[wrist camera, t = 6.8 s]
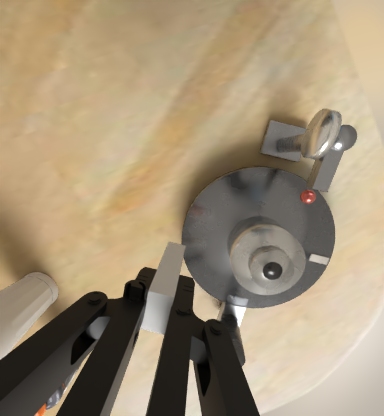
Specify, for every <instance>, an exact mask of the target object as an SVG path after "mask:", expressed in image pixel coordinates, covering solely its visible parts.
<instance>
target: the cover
mask: <svg viewBox="0 0 384 416" xmlns="http://www.w3.org/2000/svg"><path fill="white" fill-rule="evenodd" d="M227 249H228V254H229V258H230V263H231V267H232V271H233V274H234V276H235V278H236V280H237V281H238V283H239V284H240V285H241V286H242V287H244V288H245V289H246V290H248V291H250V292H252V293H255V294H260V295H274V294H278V293H281V292H284V291H286V290H288V289H289V288H291V287H292V286H293V285H295V284H296V283H297V281H298V280H299V279H300V278H301V276H302V274H303V272H304V269H305V264H306V257H305V252H304V249H303V247H302V246H301V244H300V243H299V241H298V240H297V239H296V238H295V237H294V236H292V235H291V234H290V233H289V232H288V231H287V230H286V229H285V228H284V227H283V226H282V225H280V224H279V223H278V222H277V221H275V220H273V219H271V218H268V217H264V216H255V217H250V218H247V219H245V220H243V221H241V222H240V223H238V224H237V225H236V226H235V227H234V228H233V230H232V231H231V233H230V235H229V237H228V241H227Z"/></svg>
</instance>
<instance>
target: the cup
mask: <svg viewBox="0 0 384 416" xmlns="http://www.w3.org/2000/svg"><path fill="white" fill-rule="evenodd" d="M57 297H58V287H57V285H56V283H55V282H54V280H53V279H52V278H51V277H49V276H48V275H46V274H43V273H40V272H33V273H29V274H28V275H26V276H25V277H23V278H22V279H20V280H19V281H17V282H15V283H13V284H12V285H10V286H8V287H6V288H5V289H3V290H1V291H0V360H1V359H2V358H3V357H5V356H6V355H7V354H8V353H9V352H10V351H11V350H12V348H13V347H14V346H15V344H16V343H17V342H18V341H19V340H20V339H21V338H22V337H23V335H24V334H25V333H26V332H27V331H28V330H29V329H30V328H31V326H32V325H33V324H34V323H35V322H36V321H37V320H38V318H39V317H40V316H41V315H42V314H43V313H44V312H45V311H46V309H47V308H48V307H49V306H50V305H51V304H52V303H53V302H54V301H55V300H56V299H57Z"/></svg>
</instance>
